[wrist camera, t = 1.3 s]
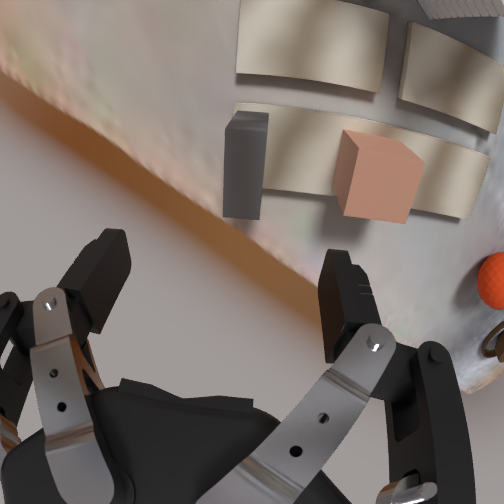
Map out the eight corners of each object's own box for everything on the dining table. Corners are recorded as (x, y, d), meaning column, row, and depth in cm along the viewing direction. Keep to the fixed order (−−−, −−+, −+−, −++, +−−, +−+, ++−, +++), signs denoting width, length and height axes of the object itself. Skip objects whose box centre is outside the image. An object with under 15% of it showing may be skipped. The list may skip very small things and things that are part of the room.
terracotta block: (399, 140, 21) (425, 162, 17) (385, 193, 24) (405, 224, 20) (342, 128, 21) (359, 148, 17) (332, 185, 24) (343, 215, 20)
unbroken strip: (485, 154, 21) (527, 187, 15) (463, 214, 25) (496, 255, 20) (235, 102, 21) (220, 120, 16) (231, 180, 26) (218, 222, 20)
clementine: (518, 253, 27) (543, 289, 22) (489, 289, 32) (509, 327, 26) (491, 233, 26) (521, 272, 21) (459, 275, 30) (482, 317, 25)
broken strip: (502, 68, 15) (509, 69, 14) (490, 131, 20) (495, 134, 19) (243, -8, 16) (241, -11, 15) (237, 72, 20) (235, 72, 19)
